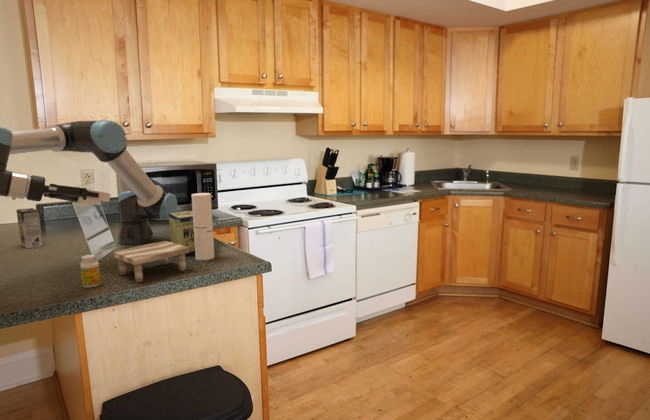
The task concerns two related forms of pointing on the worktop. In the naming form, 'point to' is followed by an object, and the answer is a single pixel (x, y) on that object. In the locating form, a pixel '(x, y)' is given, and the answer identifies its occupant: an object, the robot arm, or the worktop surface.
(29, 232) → the coffee box
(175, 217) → the protein box
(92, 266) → the supplement bottle
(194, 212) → the cylindrical container
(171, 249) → the light wood low table
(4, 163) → the robot arm
